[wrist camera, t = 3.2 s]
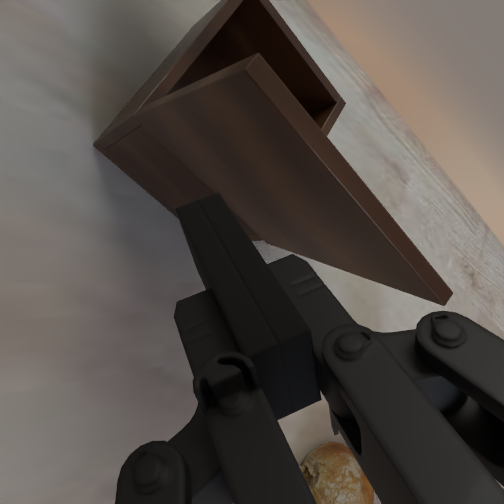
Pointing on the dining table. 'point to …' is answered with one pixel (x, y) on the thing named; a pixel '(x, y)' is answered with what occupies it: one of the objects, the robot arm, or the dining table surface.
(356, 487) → the bread roll
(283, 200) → the brown flat panel
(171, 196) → the chest
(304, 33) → the dining table surface
